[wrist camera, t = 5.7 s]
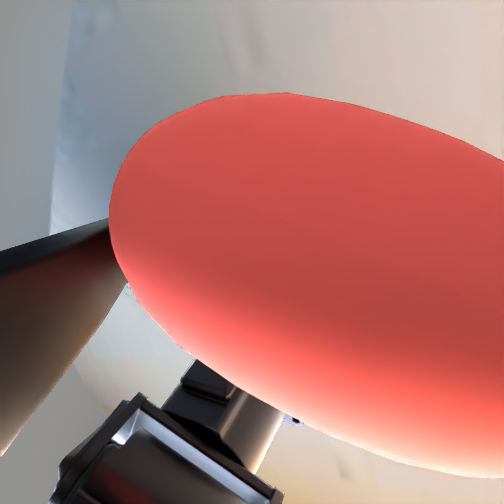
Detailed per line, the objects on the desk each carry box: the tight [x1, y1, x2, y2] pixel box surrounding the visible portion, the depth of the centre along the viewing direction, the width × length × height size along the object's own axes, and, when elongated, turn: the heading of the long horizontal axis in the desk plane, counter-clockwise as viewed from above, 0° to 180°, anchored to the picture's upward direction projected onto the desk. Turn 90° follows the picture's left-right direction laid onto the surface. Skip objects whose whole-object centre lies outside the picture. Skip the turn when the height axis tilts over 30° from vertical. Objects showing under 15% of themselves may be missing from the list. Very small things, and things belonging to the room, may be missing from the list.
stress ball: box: [109, 93, 504, 478], centre depth 8 cm, size 5×9×6 cm, turn 70°
